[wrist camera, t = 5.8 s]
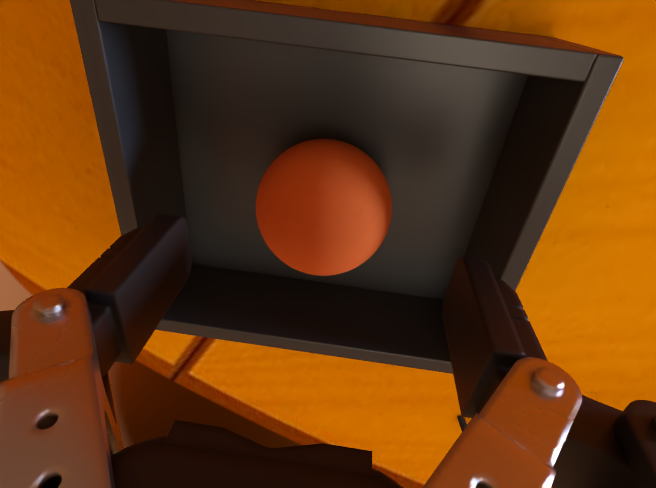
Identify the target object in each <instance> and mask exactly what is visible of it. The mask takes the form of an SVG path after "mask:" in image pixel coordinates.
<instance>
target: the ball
mask: <svg viewBox="0 0 656 488" xmlns="http://www.w3.org/2000/svg"><path fill="white" fill-rule="evenodd" d="M391 214H392V200H391V194H390V189H389V186H388V183H387V181H386V178H385V176H384V174H383V173H382V171H381V170H380V168H379V167H378V165H377V164H376V163H375V162H374V161H373V159H372V158H371V157H369V156H368V155H367V154H366V153H365V152H363V151H362V150H360V149H359V148H357V147H355V146H353V145H351V144H348V143H345V142H342V141H338V140H333V139H314V140H309V141H305V142H302V143H299V144H297V145H295V146H293V147H291V148H289V149H287V150H286V151H284V152H283V153H282V154H280V155H279V156H278V157H277V158H276V159H275V160H274V161H273V162H272V164H271V165H270V166H269V167H268V169H267V170H266V172H265V174H264V175H263V178H262V180H261V182H260V185H259V188H258V192H257V197H256V217H257V222H258V227H259V229H260V232H261V235H262V237H263V239H264V240H265V242H266V244H267V246H268V247H269V248H270V250H271V251H272V252H273V253H274V254H275V255H276V256H277V257H278V258H279V259H280V260H281V261H282V262H284V263H285V264H287V265H288V266H290V267H292V268H294V269H296V270H298V271H300V272H304V273H307V274H312V275H320V276H329V275H336V274H340V273H344V272H347V271H350V270H352V269H354V268H356V267H358V266H359V265H361V264H362V263H364V262H365V261H366V260H368V259H369V258H370V257H371V256H372V255H373V254H374V253H375V252H376V251H377V249H378V248H379V246H380V245H381V243H382V242H383V240H384V238H385V236H386V234H387V231H388V228H389V225H390V221H391Z"/></svg>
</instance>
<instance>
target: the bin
mask: <svg viewBox="0 0 656 488" xmlns="http://www.w3.org/2000/svg"><path fill="white" fill-rule="evenodd" d="M70 3H71V7H72V12H73V16H74V21H75V25H76V30H77V34H78V39H79V44H80V48H81V53H82V57H83V62H84V66H85V71H86V76H87V80H88V85H89V89H90V94H91V98H92V103H93V108H94V112H95V117H96V121H97V126H98V130H99V135H100V140H101V144H102V149H103V153H104V158H105V162H106V167H107V171H108V176H109V181H110V185H111V190H112V194H113V199H114V203H115V208H116V213H117V217H118V222H119V226H120V231H121V235H124V234H126V233H128V232H130V231H132V230H134V229H136V228H143V227H144V226H145V225H146V224H147V223H148V222H149V221H150V220H151V219H152V218H153V217H154V216H155V215H157V214H165V215H172V216H179V217H184V218H185V219H186V220H187V224H188V232H189V241H190V250H191V259H192V265H191V271H190V275H189V278H188V280H187V281H186V283H185V285H184V286H183V288H182V289H181V291H180V292H179V294H178V295H177V297H176V298H175V300H174V301H173V303H172V304H171V306H170V307H169V309H168V311H167V312H166V314H165V315H164V317H163V318H162V320H161V321H160V323H159V324H158V326H157V327H156V329H155V330H157V329H158V330H162V331H168V332H175V333H182V334H189V335H195V336H202V337H209V338H216V339H222V340H229V341H236V342H243V343H249V344H256V345H263V346H270V347H276V348H283V349H290V350H297V351H303V352H310V353H317V354H324V355H330V356H337V357H344V358H351V359H357V360H364V361H371V362H378V363H384V364H391V365H398V366H405V367H411V368H418V369H425V370H432V371H438V372H445V373H452V374H453V369H452V364H451V359H450V354H449V349H448V344H447V339H446V334H445V329H444V324H443V318H442V307H443V301H444V297H445V294H446V291H447V288H448V285H449V282H450V279H451V276H452V274H453V271H454V268H455V265H456V262H457V260H458V259H459V258H460V257H465V258H472V259H479V260H486V261H488V263H489V265H490V267H491V270H492V272H493V274H494V277H495V279H497V280H504V281H505V282H506V283H507V284H508V285H509V286H510V287H511V288H512V289H513V290H514V291H515V290H516V288H517V286H518V284H519V281H520V279H521V277H522V275H523V273H524V271H525V269H526V267H527V264H528V262H529V260H530V258H531V256H532V254H533V252H534V249H535V247H536V245H537V243H538V241H539V239H540V237H541V235H542V232H543V230H544V228H545V226H546V224H547V222H548V220H549V217H550V215H551V213H552V211H553V209H554V207H555V205H556V203H557V200H558V198H559V196H560V194H561V192H562V190H563V188H564V186H565V183H566V181H567V179H568V177H569V175H570V173H571V171H572V168H573V166H574V164H575V162H576V160H577V158H578V156H579V154H580V151H581V149H582V147H583V145H584V143H585V141H586V139H587V136H588V134H589V132H590V130H591V128H592V126H593V124H594V122H595V119H596V117H597V115H598V113H599V111H600V109H601V107H602V104H603V102H604V100H605V98H606V96H607V94H608V92H609V90H610V87H611V85H612V83H613V81H614V79H615V77H616V75H617V72H618V70H619V68H620V66H621V64H622V62H623V57H622V56H620V55H616V54H612V53H609V52H605V51H601V50H598V49H594V48H591V47H587V46H583V45H580V44H576V43H572V42H569V41H565V40H561V39H558V38H553V37H545V36H537V35H529V34H521V33H513V32H505V31H497V30H489V29H480V28H472V27H464V26H456V25H448V24H440V23H432V22H424V21H415V20H407V19H399V18H391V17H383V16H375V15H367V14H359V13H351V12H342V11H334V10H326V9H318V8H310V7H302V6H294V5H286V4H278V3H269V2H261V1H253V0H70ZM314 139H333V140H338V141H342V142H345V143H348V144H351V145H353V146H355V147H357V148H359V149H360V150H362V151H363V152H365V153H366V154H367V155H368V156H369V157H371V158H372V159H373V161H374V162H375V163H376V164H377V165H378V167H379V168H380V170H381V171H382V173H383V174H384V176H385V178H386V181H387V183H388V186H389V189H390V194H391V200H392V214H391V221H390V225H389V228H388V231H387V234H386V236H385V238H384V240H383V242H382V243H381V245H380V246H379V248H378V249H377V251H376V252H375V253H374V254H373V255H372V256H371V257H370V258H369V259H368V260H366V261H365V262H364V263H362V264H361V265H359V266H358V267H356V268H354V269H352V270H350V271H347V272H344V273H340V274H336V275H329V276H320V275H312V274H307V273H304V272H300V271H298V270H296V269H294V268H292V267H290V266H288V265H287V264H285V263H284V262H282V261H281V260H280V259H279V258H278V257H277V256H276V255H275V254H274V253H273V252H272V251H271V250H270V248H269V247H268V246H267V244H266V242H265V240H264V239H263V237H262V235H261V232H260V229H259V227H258V222H257V217H256V197H257V192H258V188H259V185H260V182H261V180H262V178H263V175H264V174H265V172H266V170H267V169H268V167H269V166H270V165H271V164H272V162H273V161H274V160H275V159H276V158H277V157H278V156H279V155H280V154H282V153H283V152H284V151H286V150H287V149H289V148H291V147H293V146H295V145H297V144H299V143H302V142H305V141H309V140H314Z"/></svg>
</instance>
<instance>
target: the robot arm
mask: <svg viewBox="0 0 656 488" xmlns="http://www.w3.org/2000/svg"><path fill="white" fill-rule="evenodd" d="M191 265H192V259H191V250H190V241H189V232H188V224H187V220H186V219H185V218H184V217H179V216H172V215H165V214H157V215H155V216H154V217H153V218H152V219H151V220H150V221H149V222H148V223H147V224H146V225H145V226H144V227H143V228H136V229H134V230H132V231H130V232H128V233H126V234H124V235H122V236H121V237H119V238H118V239H117V240H116V241H115V242H114V243H113V244H112V245H111V246H110V249H107V250H106V251H105V252H104V253H103V254H102V255H101V258H98V259H97V260H96V261H95V262H93V263H92V264H91V265H90V266H89V267H88V268H87V269H86V270H85V271H84V272H83V273H82V274H81V275H80V276H79V277H78V278H77V279H76V280H75V281H74V282H73V283H72V284H71V285H70V286H68V287H67V288H57V289H51V290H46V291H43V292H40V293H37V294H35V295H33V296H31V297H29V298H27V299H26V300H25V301H23V302H22V303H21V304H19V305H18V307H17V308H16V309H15V310H9V311H0V488H403V487H402V486H401V485H399V484H398V483H397V482H395V481H394V480H393V479H392V478H390V477H388V476H387V475H385V474H383V473H382V472H380V471H378V470H376V469H374V468H372V451H367V450H361V449H355V448H348V447H342V446H336V445H329V444H313V445H303V446H292V447H282V448H268V447H265V446H263V445H260V444H258V443H256V442H253V441H252V440H249V439H247V438H245V437H243V436H240V435H238V434H236V433H234V432H232V431H229V430H227V429H225V428H222V427H216V426H210V425H203V424H197V423H191V422H185V421H178V420H175V422H174V424H173V426H172V428H171V431H170V433H169V435H168V436H162V437H157V438H152V439H148V440H145V441H142V442H139V443H136V444H134V445H131V446H129V447H127V448H124V446H123V442H122V438H121V433H120V428H119V422H118V416H117V411H116V406H115V400H114V395H113V390H112V384H111V379H110V375H109V372H108V371H109V369H110V368H111V366H112V365H113V364H114V362H115V361H116V362H123V363H129V364H133V362H134V361H135V359H136V358H137V356H138V355H139V353H140V352H141V350H142V349H143V347H144V346H145V344H146V343H147V341H148V340H149V338H150V336H151V335H152V333H153V332H154V330H155V329H156V327H157V326H158V324H159V323H160V321H161V320H162V318H163V317H164V315H165V314H166V312H167V311H168V309H169V307H170V306H171V304H172V303H173V301H174V300H175V298H176V297H177V295H178V294H179V292H180V291H181V289H182V288H183V286H184V285H185V283H186V281H187V280H188V278H189V275H190V271H191ZM442 318H443V324H444V329H445V334H446V339H447V344H448V349H449V354H450V359H451V364H452V369H453V375H454V380H455V385H456V390H457V395H458V400H459V405H460V410H461V415H462V416H463V417H469V418H472V419H471V421H470V422H469V424H468V425H467V426H466V428H465V429H464V431H463V432H462V433H461V435H460V436H459V438H458V439H457V440H456V442H455V443H454V445H453V446H452V447H451V449H450V450H449V452H448V453H447V454H446V456H445V457H444V459H443V460H442V461H441V463H440V464H439V466H438V467H437V468H436V470H435V471H434V473H433V474H432V475H431V477H430V478H429V480H428V481H427V482H426V484H425V485H424V487H423V488H550V487H552V488H656V402H652V401H647V400H636V401H633V402H631V403H630V404H629V405H628V406H627V407H626V408H625V410H624V411H620V410H618V409H615V408H613V407H610V406H608V405H605V404H603V403H600V402H598V401H595V400H593V399H590V398H588V397H586V396H583V395H582V394H581V391H580V389H579V387H578V385H577V384H576V382H575V381H574V380H573V378H572V377H571V376H570V375H569V374H568V373H566V372H565V371H564V370H563V369H561V368H560V367H558V366H557V365H555V364H553V363H551V362H548V361H547V359H546V356H545V354H544V352H543V350H542V348H541V345H540V343H539V341H538V339H537V337H536V335H535V332H534V330H533V328H532V326H531V324H530V321H528V317H527V315H526V313H525V310H523V306H522V304H521V302H520V300H519V297H518V295H517V293H516V292H515V291H514V290H513V289H512V288H511V287H510V286H509V285H508V284H507V283H506V282H505V281H504V280H497V279H495V277H494V274H493V272H492V270H491V267H490V265H489V263H488V261H486V260H479V259H472V258H465V257H460V258H459V259H458V260H457V262H456V265H455V268H454V271H453V274H452V276H451V279H450V282H449V285H448V288H447V291H446V294H445V297H444V301H443V307H442Z"/></svg>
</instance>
